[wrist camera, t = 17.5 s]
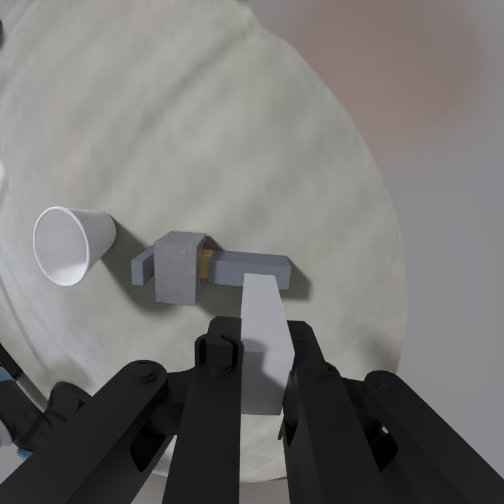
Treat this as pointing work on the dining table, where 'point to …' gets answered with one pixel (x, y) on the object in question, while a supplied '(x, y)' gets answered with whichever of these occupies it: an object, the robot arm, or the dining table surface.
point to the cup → (71, 242)
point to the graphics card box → (9, 364)
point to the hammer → (221, 267)
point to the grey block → (179, 267)
